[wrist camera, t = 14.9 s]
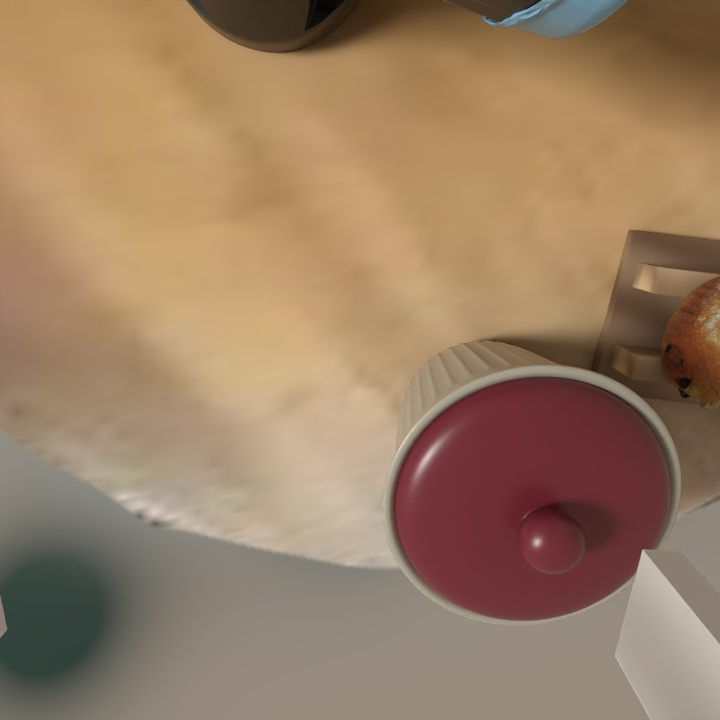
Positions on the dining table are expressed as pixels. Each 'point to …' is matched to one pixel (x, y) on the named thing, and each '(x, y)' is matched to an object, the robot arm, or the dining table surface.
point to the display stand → (650, 307)
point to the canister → (525, 485)
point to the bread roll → (695, 345)
